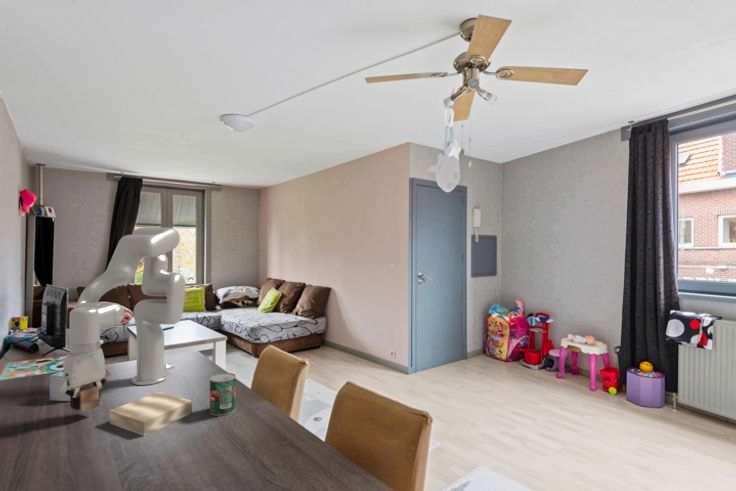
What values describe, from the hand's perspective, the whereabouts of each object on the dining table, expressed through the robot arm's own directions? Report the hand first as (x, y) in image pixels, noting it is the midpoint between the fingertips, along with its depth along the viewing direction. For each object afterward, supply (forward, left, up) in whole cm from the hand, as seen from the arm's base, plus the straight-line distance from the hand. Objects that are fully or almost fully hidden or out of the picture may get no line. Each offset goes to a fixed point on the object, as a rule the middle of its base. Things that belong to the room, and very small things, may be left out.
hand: (85, 404), depth 120 cm
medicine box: (-5, -21, -4) cm, 22 cm away
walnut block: (0, 0, -1) cm, 1 cm away
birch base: (-9, +19, -4) cm, 21 cm away
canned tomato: (-23, +34, -4) cm, 41 cm away
